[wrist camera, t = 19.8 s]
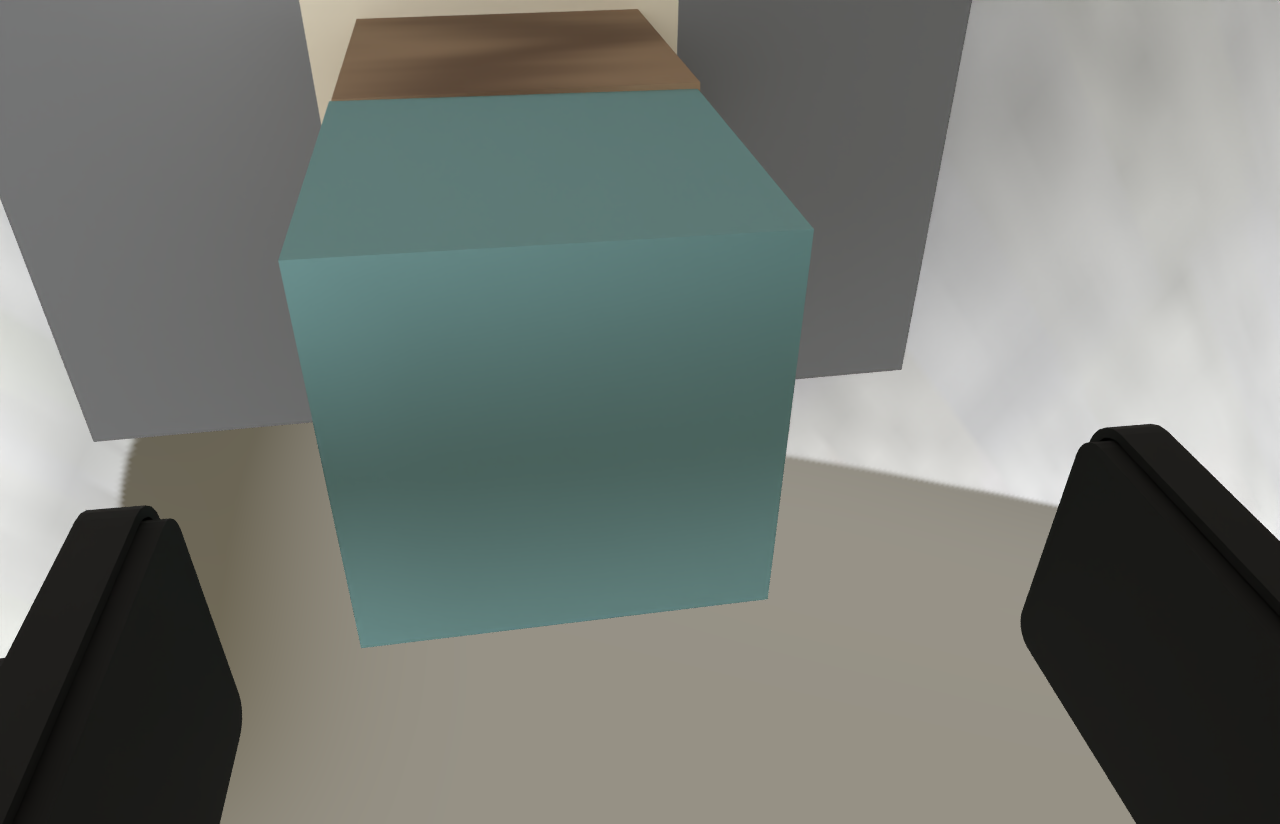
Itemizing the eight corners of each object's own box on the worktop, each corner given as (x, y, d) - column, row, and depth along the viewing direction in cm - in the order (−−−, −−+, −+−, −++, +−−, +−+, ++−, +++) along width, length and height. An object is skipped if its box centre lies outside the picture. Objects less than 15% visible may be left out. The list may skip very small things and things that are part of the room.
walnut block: (638, 8, 21) (700, 81, 16) (637, 260, 24) (689, 384, 19) (356, 18, 20) (331, 99, 15) (397, 278, 23) (386, 413, 18)
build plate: (977, -203, 21) (1011, -202, 20) (881, 344, 29) (902, 370, 28) (-117, -212, 18) (-159, -210, 16) (110, 409, 26) (93, 443, 24)
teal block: (698, 88, 16) (813, 228, 11) (683, 389, 19) (767, 598, 14) (329, 101, 15) (278, 259, 10) (380, 414, 18) (361, 648, 14)
